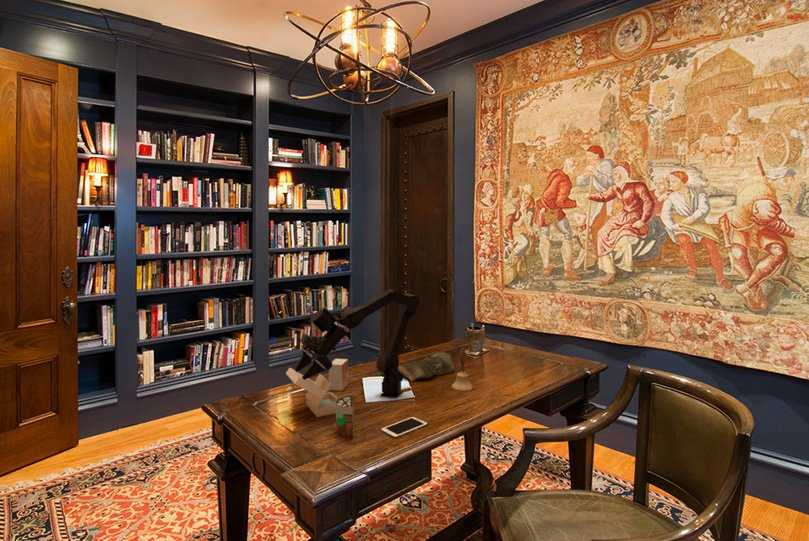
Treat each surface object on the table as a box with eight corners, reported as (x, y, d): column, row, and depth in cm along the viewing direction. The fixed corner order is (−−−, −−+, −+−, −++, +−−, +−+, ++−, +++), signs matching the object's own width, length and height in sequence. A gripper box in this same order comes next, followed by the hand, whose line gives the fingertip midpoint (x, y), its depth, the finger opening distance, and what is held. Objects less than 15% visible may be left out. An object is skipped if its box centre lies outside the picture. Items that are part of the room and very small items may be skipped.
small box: (342, 391, 179) (341, 364, 178) (328, 390, 180) (328, 364, 179) (349, 384, 187) (348, 358, 186) (335, 383, 188) (335, 358, 187)
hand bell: (477, 387, 183) (477, 347, 181) (464, 392, 177) (464, 352, 175) (460, 382, 188) (460, 344, 187) (447, 387, 182) (447, 348, 181)
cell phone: (379, 431, 145) (378, 428, 145) (413, 418, 155) (413, 415, 154) (394, 440, 139) (394, 437, 139) (429, 425, 149) (429, 423, 149)
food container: (335, 423, 151) (334, 393, 150) (354, 422, 151) (353, 392, 150) (332, 440, 138) (331, 408, 137) (353, 439, 139) (352, 407, 138)
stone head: (385, 366, 201) (433, 350, 218) (389, 385, 201) (436, 368, 218) (412, 367, 186) (461, 350, 203) (416, 387, 186) (465, 369, 202)
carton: (331, 399, 170) (331, 392, 170) (343, 411, 160) (343, 403, 159) (306, 404, 166) (306, 397, 166) (317, 417, 155) (316, 409, 155)
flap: (320, 374, 167) (295, 359, 162) (332, 384, 157) (304, 368, 152) (306, 396, 166) (280, 381, 160) (317, 407, 155) (289, 392, 150)
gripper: (306, 320, 167) (276, 353, 162) (323, 330, 150) (289, 368, 146) (327, 339, 171) (298, 372, 167) (345, 352, 155) (313, 388, 150)
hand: (299, 374), depth 157 cm, fingers open, 9 cm apart
